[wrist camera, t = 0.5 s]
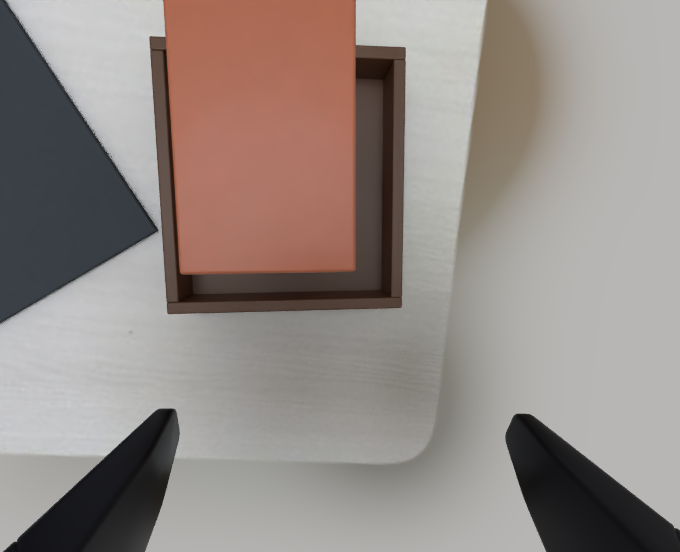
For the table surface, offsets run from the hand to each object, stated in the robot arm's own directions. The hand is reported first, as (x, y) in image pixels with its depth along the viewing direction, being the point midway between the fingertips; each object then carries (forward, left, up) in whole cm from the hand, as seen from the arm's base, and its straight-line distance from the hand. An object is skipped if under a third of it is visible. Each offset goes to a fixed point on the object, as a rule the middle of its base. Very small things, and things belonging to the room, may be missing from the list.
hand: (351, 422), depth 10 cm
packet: (+7, +3, -12) cm, 15 cm away
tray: (+7, +3, -13) cm, 15 cm away
